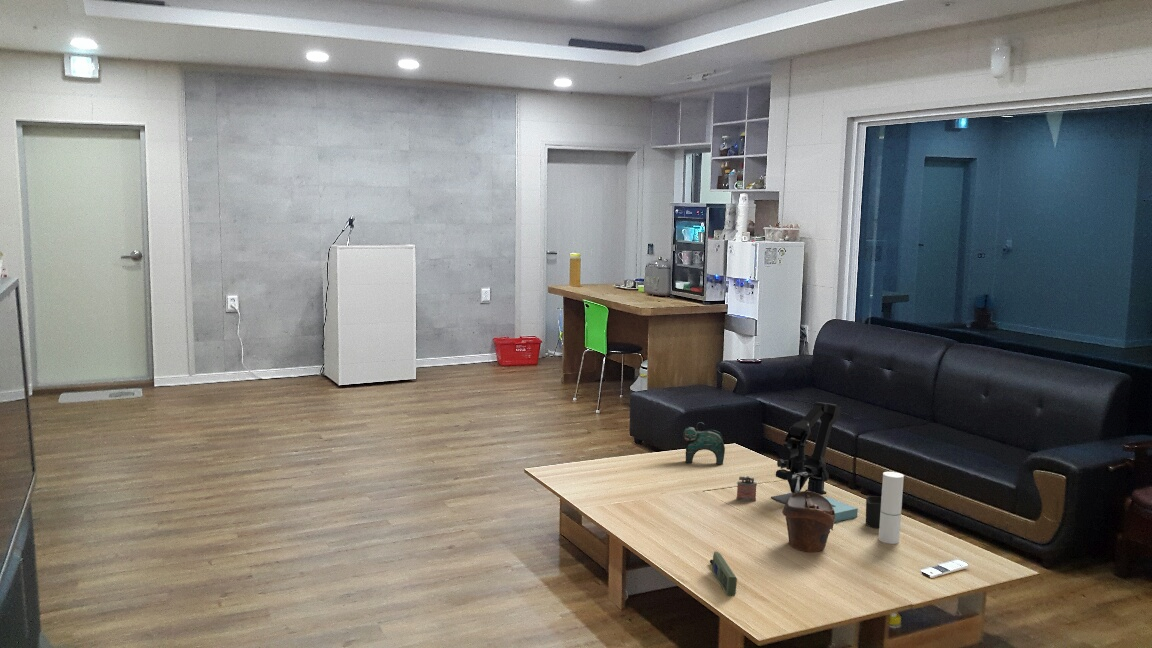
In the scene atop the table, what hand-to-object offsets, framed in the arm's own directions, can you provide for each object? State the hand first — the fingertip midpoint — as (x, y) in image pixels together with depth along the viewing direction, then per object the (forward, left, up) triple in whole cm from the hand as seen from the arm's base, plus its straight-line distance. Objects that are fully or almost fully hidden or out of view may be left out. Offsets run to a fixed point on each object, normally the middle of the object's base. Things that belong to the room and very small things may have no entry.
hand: (795, 492), depth 363 cm
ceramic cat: (0, -61, -4) cm, 61 cm away
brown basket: (+32, +39, -4) cm, 51 cm away
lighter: (+18, -10, -4) cm, 21 cm away
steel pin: (0, 0, -3) cm, 3 cm away
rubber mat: (0, 0, -4) cm, 4 cm away
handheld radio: (+79, +47, -4) cm, 92 cm away
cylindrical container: (+1, +49, -4) cm, 49 cm away
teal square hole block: (0, +18, -4) cm, 18 cm away
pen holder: (-8, +36, -4) cm, 37 cm away
